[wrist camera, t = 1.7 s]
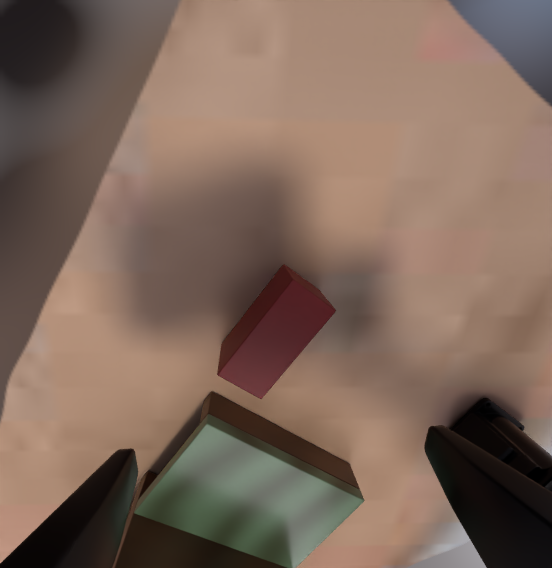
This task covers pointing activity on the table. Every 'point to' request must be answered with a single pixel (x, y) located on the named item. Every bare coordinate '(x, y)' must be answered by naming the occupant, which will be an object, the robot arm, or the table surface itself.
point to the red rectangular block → (273, 332)
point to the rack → (237, 498)
